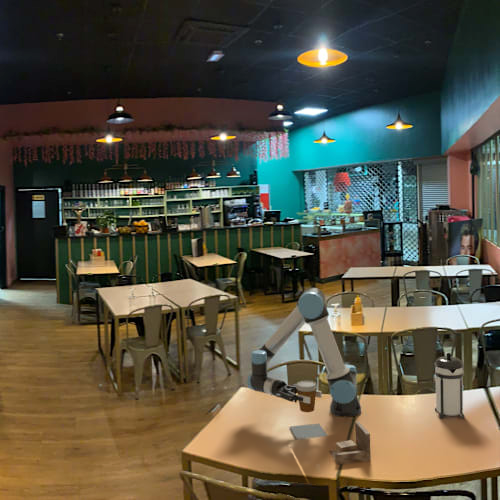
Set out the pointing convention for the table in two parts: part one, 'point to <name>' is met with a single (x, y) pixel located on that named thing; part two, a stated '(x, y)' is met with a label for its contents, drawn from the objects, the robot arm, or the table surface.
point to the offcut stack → (346, 446)
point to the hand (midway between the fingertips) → (315, 397)
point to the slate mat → (308, 431)
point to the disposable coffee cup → (307, 394)
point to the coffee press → (449, 386)
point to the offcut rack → (362, 447)
